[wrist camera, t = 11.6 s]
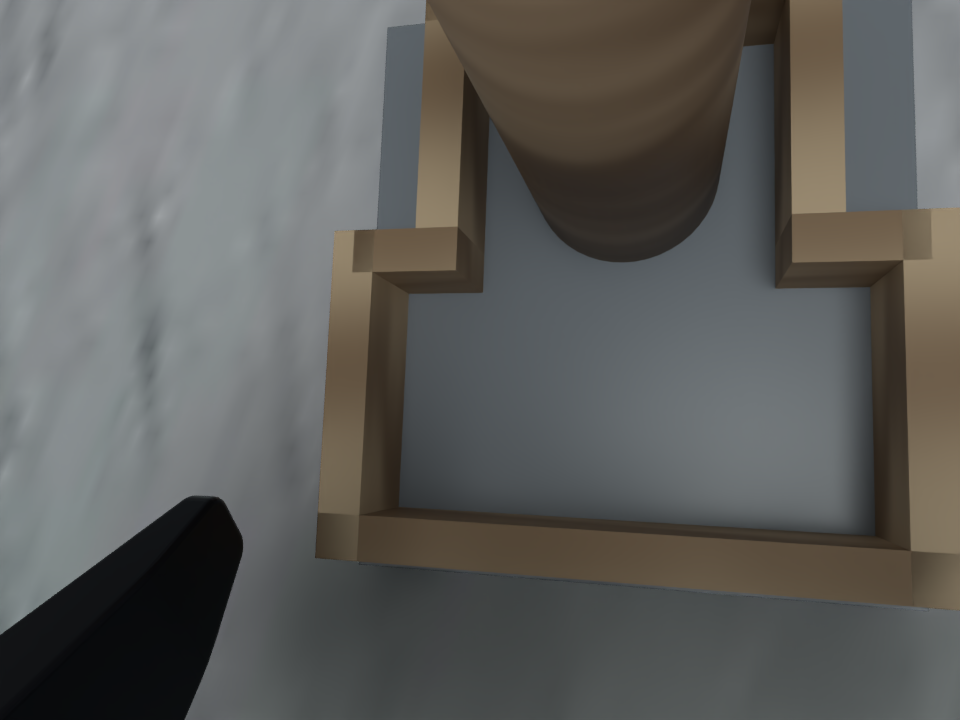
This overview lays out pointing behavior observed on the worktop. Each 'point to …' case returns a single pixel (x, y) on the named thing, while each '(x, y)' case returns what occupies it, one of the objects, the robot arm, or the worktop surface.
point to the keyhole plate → (659, 347)
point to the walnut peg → (608, 109)
